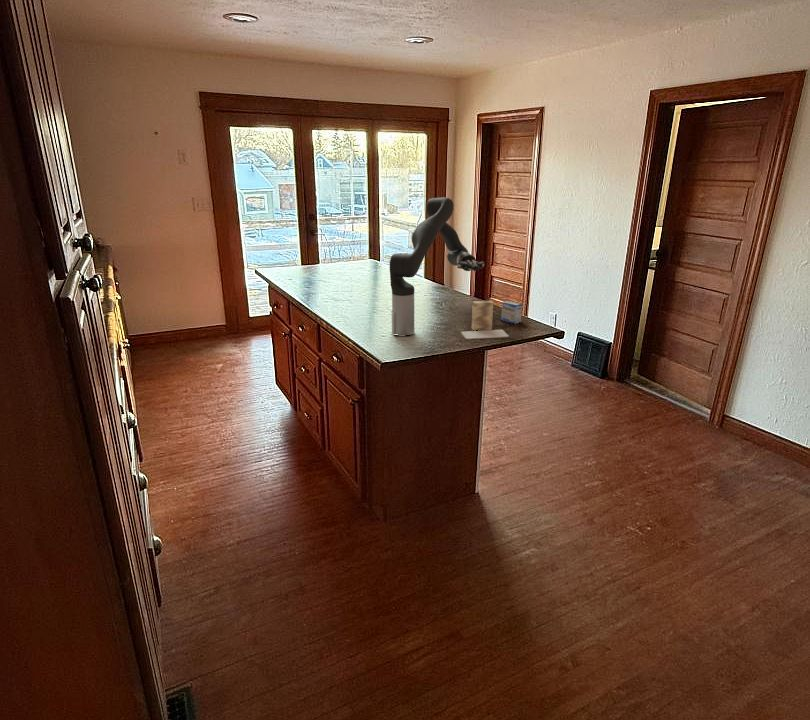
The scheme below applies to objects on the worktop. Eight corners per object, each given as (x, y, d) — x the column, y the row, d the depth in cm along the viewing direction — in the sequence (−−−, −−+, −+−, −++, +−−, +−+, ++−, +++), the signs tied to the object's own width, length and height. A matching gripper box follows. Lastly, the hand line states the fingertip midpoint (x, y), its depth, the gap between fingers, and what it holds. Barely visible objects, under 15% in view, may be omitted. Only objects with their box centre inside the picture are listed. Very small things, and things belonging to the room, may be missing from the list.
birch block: (473, 330, 221) (474, 303, 216) (471, 328, 224) (472, 301, 220) (491, 329, 222) (493, 302, 217) (489, 327, 225) (490, 300, 221)
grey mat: (466, 339, 210) (466, 338, 210) (460, 332, 218) (460, 331, 218) (508, 337, 212) (509, 336, 212) (502, 330, 221) (502, 329, 220)
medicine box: (500, 320, 234) (501, 302, 231) (506, 318, 237) (507, 300, 234) (515, 324, 229) (516, 305, 226) (521, 322, 232) (522, 303, 228)
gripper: (452, 253, 240) (461, 260, 224) (480, 252, 241) (491, 259, 225) (452, 269, 242) (461, 277, 226) (479, 268, 244) (490, 276, 228)
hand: (476, 268), depth 226 cm, fingers closed
